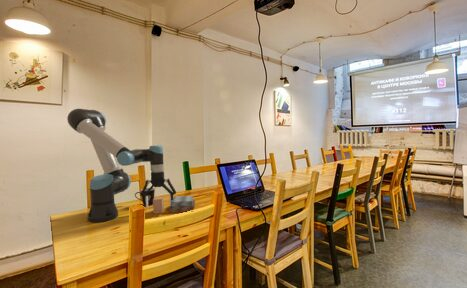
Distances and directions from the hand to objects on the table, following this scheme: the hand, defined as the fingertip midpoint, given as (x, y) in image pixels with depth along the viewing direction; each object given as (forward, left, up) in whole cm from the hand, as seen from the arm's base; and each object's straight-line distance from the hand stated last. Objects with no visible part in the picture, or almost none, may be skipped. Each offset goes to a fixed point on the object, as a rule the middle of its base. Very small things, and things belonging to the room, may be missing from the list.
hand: (159, 206), depth 146 cm
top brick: (0, 0, -3) cm, 3 cm away
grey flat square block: (+14, +4, -3) cm, 14 cm away
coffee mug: (-11, +16, -3) cm, 20 cm away
